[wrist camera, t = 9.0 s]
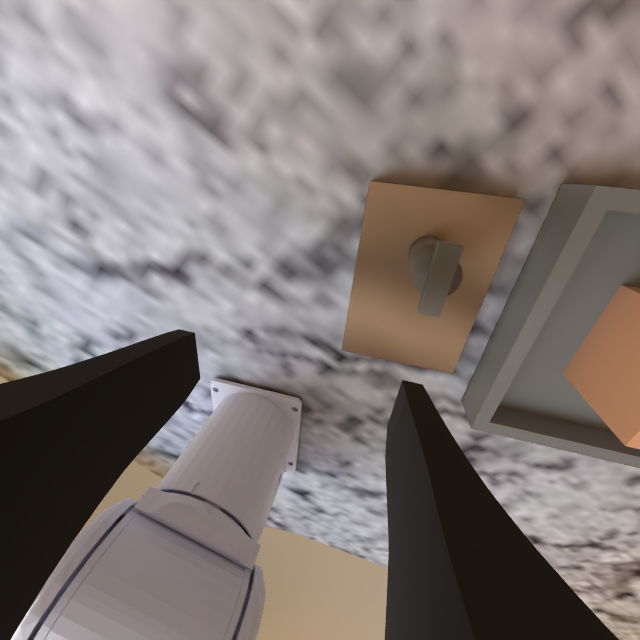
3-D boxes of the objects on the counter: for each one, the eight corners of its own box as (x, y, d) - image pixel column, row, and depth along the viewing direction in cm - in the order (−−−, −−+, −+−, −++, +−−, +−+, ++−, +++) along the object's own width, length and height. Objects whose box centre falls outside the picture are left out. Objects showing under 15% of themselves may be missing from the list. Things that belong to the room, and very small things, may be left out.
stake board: (449, 362, 18) (471, 433, 13) (344, 340, 19) (327, 398, 14) (514, 197, 14) (588, 210, 9) (371, 180, 15) (361, 183, 10)
